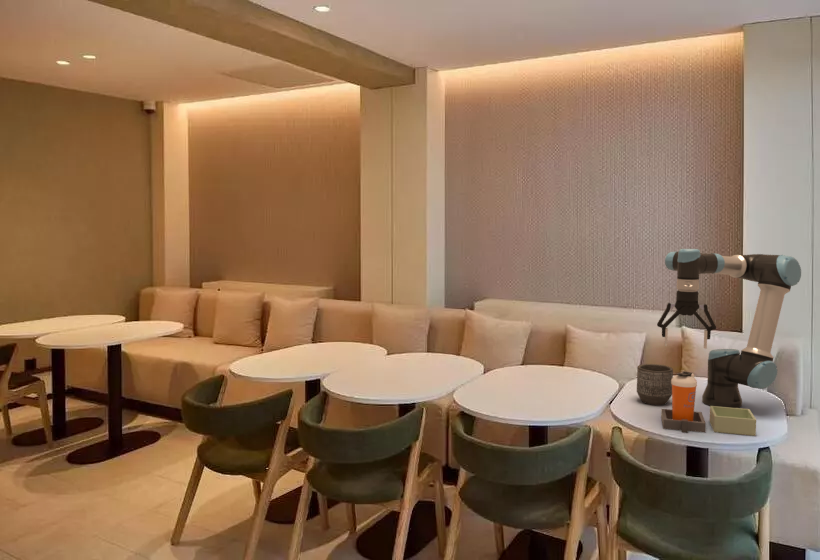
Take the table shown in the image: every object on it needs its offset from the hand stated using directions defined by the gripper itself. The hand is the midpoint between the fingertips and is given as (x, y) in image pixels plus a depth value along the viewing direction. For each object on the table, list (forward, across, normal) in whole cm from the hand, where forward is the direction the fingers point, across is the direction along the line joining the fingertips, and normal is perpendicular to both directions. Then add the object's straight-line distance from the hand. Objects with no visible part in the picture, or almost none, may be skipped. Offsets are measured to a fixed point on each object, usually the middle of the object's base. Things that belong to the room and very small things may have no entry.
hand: (685, 346), depth 241 cm
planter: (+30, -9, +29) cm, 43 cm away
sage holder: (+30, +17, +1) cm, 35 cm away
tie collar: (+30, 0, -1) cm, 30 cm away
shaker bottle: (+30, 0, 0) cm, 30 cm away
